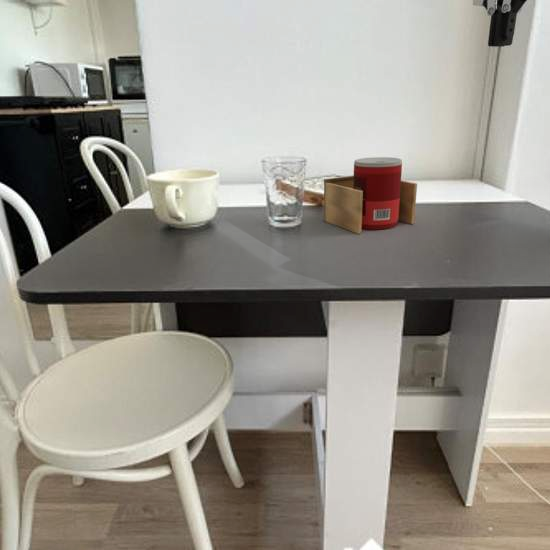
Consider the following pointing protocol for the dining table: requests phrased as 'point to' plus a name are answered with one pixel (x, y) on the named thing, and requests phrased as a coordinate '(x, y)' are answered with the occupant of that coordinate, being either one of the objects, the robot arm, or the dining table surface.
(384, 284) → the dining table surface
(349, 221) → the brown u-shaped panel piece
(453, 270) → the dining table surface
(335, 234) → the dining table surface
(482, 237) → the dining table surface
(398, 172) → the canned food
